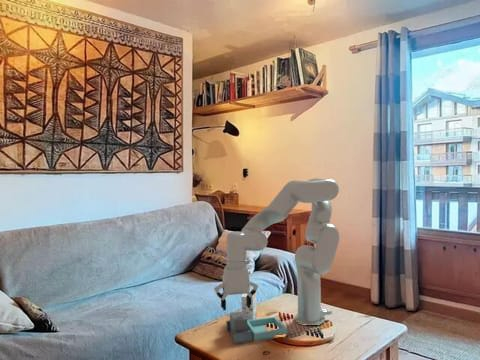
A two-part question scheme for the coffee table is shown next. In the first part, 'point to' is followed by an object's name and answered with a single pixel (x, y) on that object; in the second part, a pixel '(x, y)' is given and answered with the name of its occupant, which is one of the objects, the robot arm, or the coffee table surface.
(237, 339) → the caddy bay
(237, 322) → the grey upright block
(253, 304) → the ink cartridge box
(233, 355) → the coffee table surface
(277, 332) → the tray
